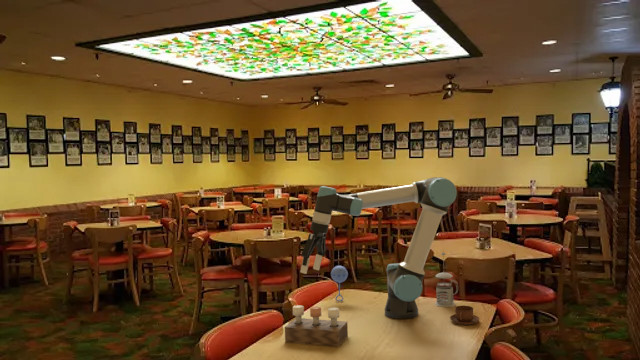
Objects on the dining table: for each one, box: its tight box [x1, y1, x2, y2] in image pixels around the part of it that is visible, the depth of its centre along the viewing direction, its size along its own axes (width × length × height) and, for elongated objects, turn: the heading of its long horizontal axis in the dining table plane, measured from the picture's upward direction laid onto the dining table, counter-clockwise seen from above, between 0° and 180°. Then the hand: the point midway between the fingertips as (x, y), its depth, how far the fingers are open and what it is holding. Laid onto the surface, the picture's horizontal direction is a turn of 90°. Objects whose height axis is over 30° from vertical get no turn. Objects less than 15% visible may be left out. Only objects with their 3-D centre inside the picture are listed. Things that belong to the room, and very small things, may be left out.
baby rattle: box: [330, 265, 349, 302], centre depth 248 cm, size 9×9×18 cm
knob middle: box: [309, 305, 322, 326], centre depth 194 cm, size 4×4×7 cm
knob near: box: [327, 307, 340, 327], centre depth 191 cm, size 4×4×7 cm
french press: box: [434, 252, 459, 308], centre depth 234 cm, size 10×12×25 cm
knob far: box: [292, 305, 305, 324], centre depth 196 cm, size 4×4×7 cm
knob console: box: [284, 318, 349, 348], centre depth 194 cm, size 22×12×6 cm, turn 70°
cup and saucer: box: [449, 305, 480, 325], centre depth 208 cm, size 12×12×6 cm
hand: (309, 271), depth 208 cm, fingers open, 13 cm apart
